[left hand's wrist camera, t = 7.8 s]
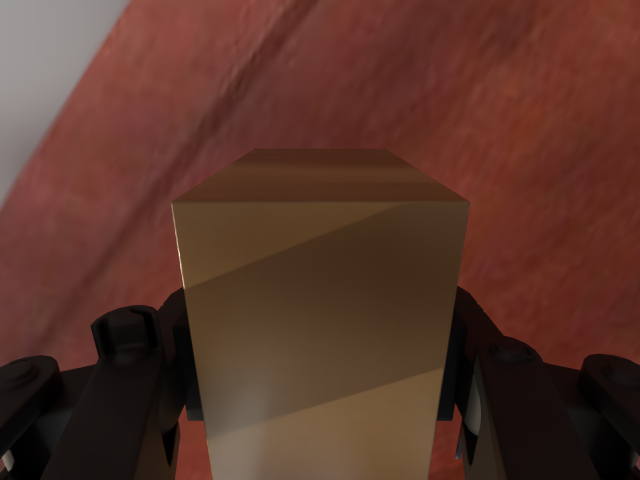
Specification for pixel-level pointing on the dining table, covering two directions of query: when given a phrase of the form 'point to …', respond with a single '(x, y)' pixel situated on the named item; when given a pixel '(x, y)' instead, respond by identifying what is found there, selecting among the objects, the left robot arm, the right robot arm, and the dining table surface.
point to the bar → (320, 312)
